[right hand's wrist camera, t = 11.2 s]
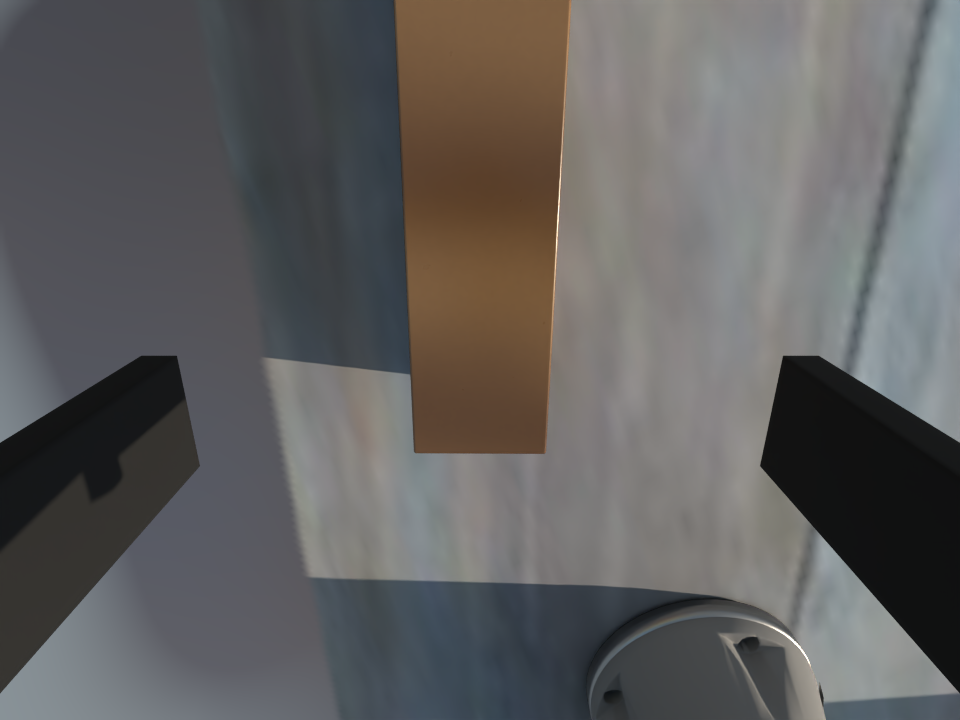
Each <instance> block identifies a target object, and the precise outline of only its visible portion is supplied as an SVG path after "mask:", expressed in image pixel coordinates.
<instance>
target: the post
mask: <svg viewBox="0 0 960 720" xmlns="http://www.w3.org/2000/svg"><path fill="white" fill-rule="evenodd" d="M570 13H571V0H394V19H395V42H396V64H397V86H398V108H399V130H400V152H401V174H402V196H403V219H404V241H405V263H406V285H407V307H408V329H409V351H410V374H411V396H412V418H413V440H414V452H415V453H507V454H544V453H545V452H546V441H547V423H548V405H549V388H550V370H551V352H552V334H553V316H554V298H555V281H556V263H557V245H558V227H559V209H560V192H561V174H562V156H563V138H564V120H565V103H566V85H567V67H568V49H569V31H570Z"/></svg>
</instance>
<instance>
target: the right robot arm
mask: <svg viewBox="0 0 960 720" xmlns="http://www.w3.org/2000/svg"><path fill="white" fill-rule="evenodd" d="M199 466H200V465H199V460H198V455H197V450H196V445H195V441H194V436H193V431H192V426H191V421H190V417H189V412H188V407H187V402H186V397H185V393H184V388H183V383H182V378H181V374H180V369H179V364H178V359H177V356H140V357H139V358H137V359H135V360H134V361H132V362H131V363H129V364H127V365H126V366H124V367H122V368H121V369H119V370H118V371H116V372H114V373H113V374H111V375H110V376H108V377H106V378H105V379H103V380H101V381H100V382H98V383H97V384H95V385H93V386H92V387H90V388H88V389H87V390H85V391H84V392H82V393H80V394H79V395H77V396H75V397H74V398H72V399H71V400H69V401H67V402H66V403H64V404H62V405H61V406H59V407H58V408H56V409H54V410H53V411H51V412H50V413H48V414H46V415H45V416H43V417H41V418H40V419H38V420H36V421H35V422H33V423H32V424H30V425H28V426H27V427H25V428H24V429H22V430H20V431H19V432H17V433H15V434H14V435H12V436H11V437H9V438H7V439H6V440H4V441H2V442H1V443H0V693H1V692H2V691H3V689H4V688H5V687H6V686H7V685H8V684H9V683H10V681H11V680H12V679H13V678H14V677H15V676H16V675H17V674H18V672H19V671H20V670H21V669H22V668H23V667H24V666H25V664H26V663H27V662H28V661H29V660H30V659H31V658H32V656H33V655H34V654H35V653H36V652H37V651H38V650H39V648H40V647H41V646H42V645H43V644H44V643H45V642H46V641H47V639H48V638H49V637H50V636H51V635H52V634H53V633H54V631H55V630H56V629H57V628H58V627H59V626H60V625H61V623H62V622H63V621H64V620H65V619H66V618H67V617H68V616H69V614H70V613H71V612H72V611H73V610H74V609H75V608H76V606H77V605H78V604H79V603H80V602H81V601H82V599H83V598H84V597H85V596H86V595H87V594H88V593H89V592H90V590H91V589H92V588H93V587H94V586H95V585H96V584H97V582H98V581H99V580H100V579H101V578H102V577H103V576H104V575H105V573H106V572H107V571H108V570H109V569H110V568H111V567H112V565H113V564H114V563H115V562H116V561H117V560H118V559H119V557H120V556H121V555H122V554H123V553H124V552H125V551H126V549H127V548H128V547H129V546H130V545H131V544H132V543H133V541H134V540H135V539H136V538H137V537H138V536H139V535H140V534H141V532H142V531H143V530H144V529H145V528H146V527H147V526H148V524H149V523H150V522H151V521H152V520H153V519H154V518H155V516H156V515H157V514H158V513H159V512H160V511H161V510H162V508H163V507H164V506H165V505H166V504H167V503H168V502H169V501H170V499H171V498H172V497H173V496H174V495H175V494H176V493H177V491H178V490H179V489H180V488H181V487H182V486H183V485H184V483H185V482H186V481H187V480H188V479H189V478H190V477H191V475H192V474H193V473H194V472H195V471H196V470H197V469H198V467H199ZM760 466H761V468H762V469H763V470H764V471H765V472H766V473H767V474H768V476H769V477H770V478H771V479H772V480H773V481H774V482H775V483H776V485H777V486H778V487H779V488H780V489H781V490H782V491H783V493H784V494H785V495H786V496H787V497H788V498H789V499H790V501H791V502H792V503H793V504H794V505H795V506H796V507H797V509H798V510H799V511H800V512H801V513H802V514H803V515H804V517H805V518H806V519H807V520H808V521H809V522H810V523H811V524H812V526H813V527H814V528H815V529H816V530H817V531H818V532H819V534H820V535H821V536H822V537H823V538H824V539H825V540H826V542H827V543H828V544H829V545H830V546H831V547H832V548H833V550H834V551H835V552H836V553H837V554H838V555H839V556H840V557H841V559H842V560H843V561H844V562H845V563H846V564H847V565H848V567H849V568H850V569H851V570H852V571H853V572H854V573H855V575H856V576H857V577H858V578H859V579H860V580H861V581H862V583H863V584H864V585H865V586H866V587H867V588H868V589H869V590H870V592H871V593H872V594H873V595H874V596H875V597H876V598H877V600H878V601H879V602H880V603H881V604H882V605H883V606H884V608H885V609H886V610H887V611H888V612H889V613H890V614H891V616H892V617H893V618H894V619H895V620H896V621H897V622H898V623H899V625H900V626H901V627H902V628H903V629H904V630H905V631H906V633H907V634H908V635H909V636H910V637H911V638H912V639H913V641H914V642H915V643H916V644H917V645H918V646H919V647H920V649H921V650H922V651H923V652H924V653H925V654H926V655H927V656H928V658H929V659H930V660H931V661H932V662H933V663H934V664H935V666H936V667H937V668H938V669H939V670H940V671H941V672H942V674H943V675H944V676H945V677H946V678H947V679H948V680H949V682H950V683H951V684H952V685H953V686H954V687H955V688H956V690H957V691H958V692H959V693H960V443H959V442H958V441H956V440H954V439H953V438H951V437H949V436H948V435H946V434H945V433H943V432H941V431H940V430H938V429H936V428H935V427H933V426H932V425H930V424H928V423H927V422H925V421H923V420H922V419H920V418H919V417H917V416H915V415H914V414H912V413H911V412H909V411H907V410H906V409H904V408H902V407H901V406H899V405H898V404H896V403H894V402H893V401H891V400H889V399H888V398H886V397H885V396H883V395H881V394H880V393H878V392H876V391H875V390H873V389H872V388H870V387H868V386H867V385H865V384H863V383H862V382H860V381H859V380H857V379H855V378H854V377H852V376H850V375H849V374H847V373H846V372H844V371H842V370H841V369H839V368H838V367H836V366H834V365H833V364H831V363H829V362H828V361H826V360H825V359H823V358H821V357H820V356H783V359H782V364H781V369H780V374H779V378H778V383H777V388H776V393H775V397H774V402H773V407H772V412H771V417H770V421H769V426H768V431H767V436H766V441H765V445H764V450H763V455H762V460H761V464H760ZM586 693H587V699H588V704H589V710H590V715H591V719H592V720H826V718H825V714H824V710H823V699H824V697H823V693H822V690H821V686H820V682H819V690H818V686H817V682H816V678H815V675H814V673H813V670H812V668H811V665H810V663H809V660H808V658H807V657H806V655H805V653H804V652H803V650H802V648H801V647H800V645H799V644H798V642H797V641H796V639H795V637H794V636H793V634H792V633H791V632H790V631H789V629H788V628H787V627H786V626H785V625H784V624H783V623H782V622H780V621H779V620H778V619H777V618H775V617H774V616H772V615H770V614H769V613H767V612H765V611H763V610H761V609H759V608H756V607H753V606H750V605H747V604H743V603H740V602H734V601H728V600H717V599H703V600H691V601H684V602H679V603H674V604H670V605H667V606H663V607H660V608H657V609H655V610H652V611H649V612H647V613H645V614H643V615H641V616H639V617H637V618H635V619H633V620H632V621H630V622H628V623H627V624H625V625H624V626H622V627H621V628H620V629H619V630H617V631H616V632H615V633H614V634H613V635H612V636H611V637H610V638H608V639H607V641H606V642H605V643H604V644H603V645H602V646H601V648H600V649H599V651H598V652H597V653H596V655H595V657H594V659H593V661H592V663H591V665H590V668H589V671H588V675H587V681H586Z"/></svg>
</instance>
